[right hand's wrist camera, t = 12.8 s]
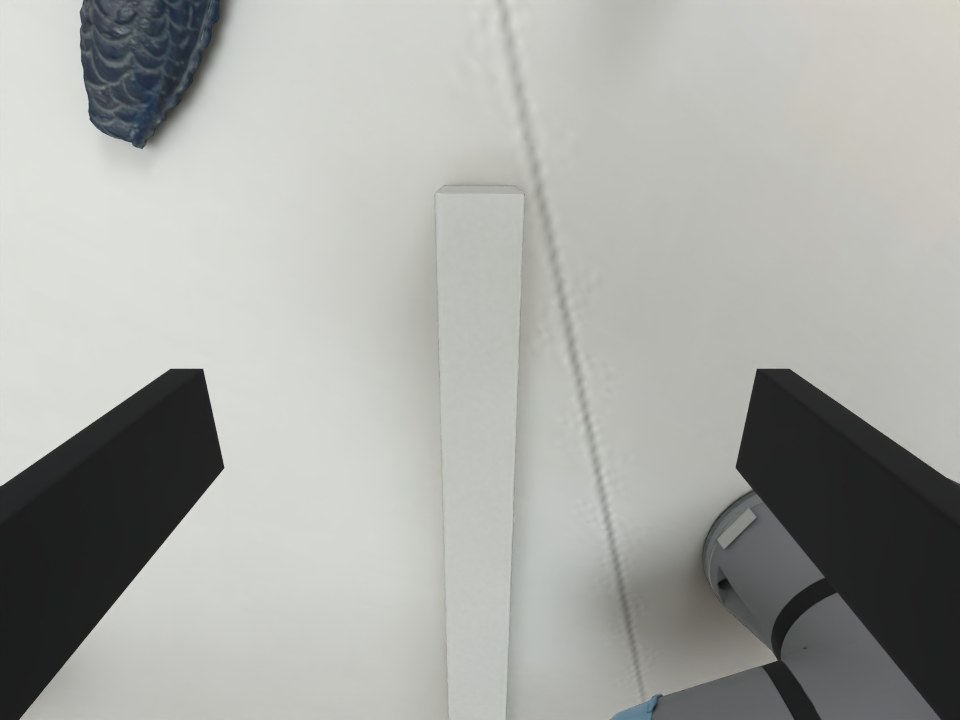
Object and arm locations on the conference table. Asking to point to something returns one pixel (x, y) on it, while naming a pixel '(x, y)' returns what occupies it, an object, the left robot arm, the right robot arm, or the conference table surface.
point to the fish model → (140, 60)
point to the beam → (478, 433)
